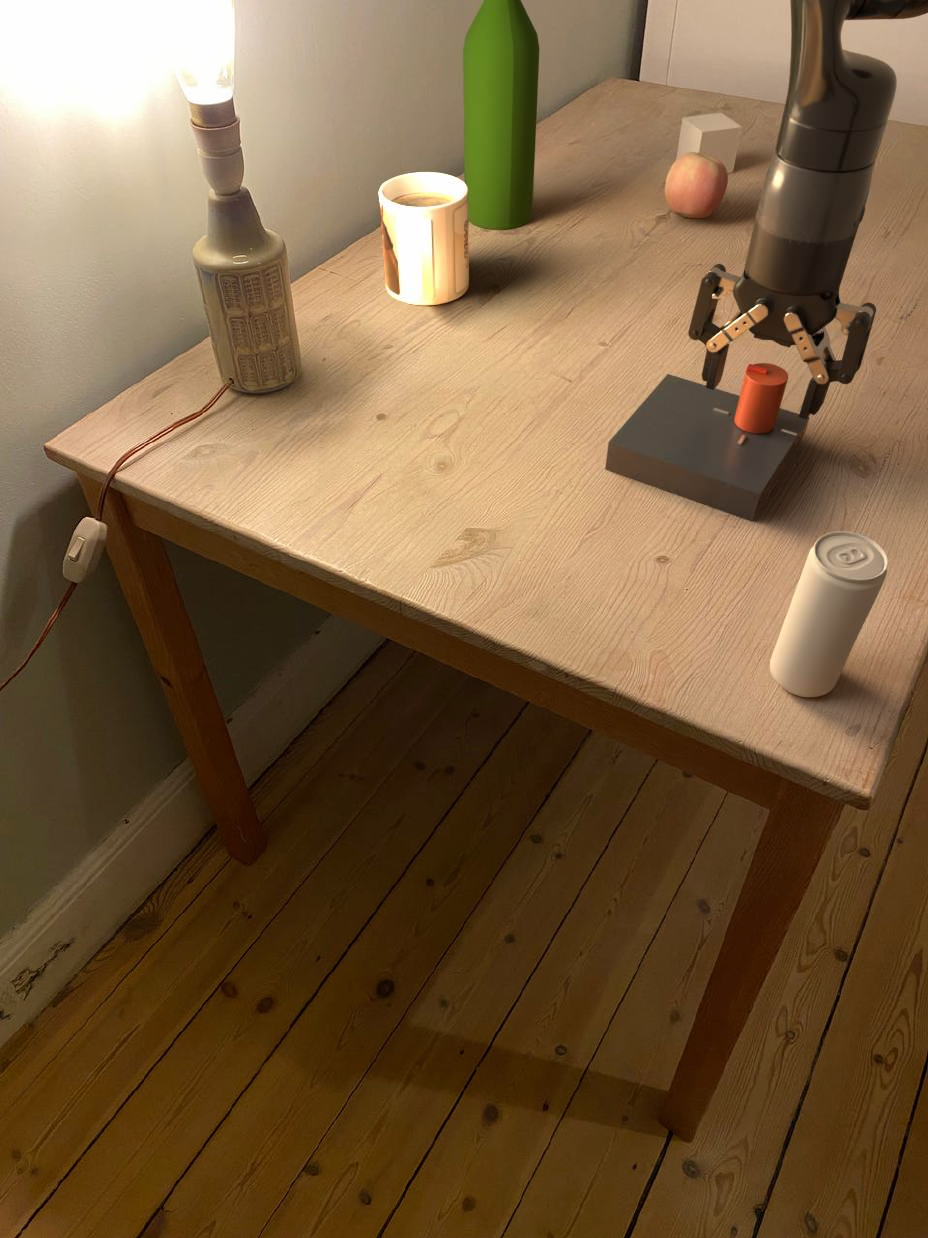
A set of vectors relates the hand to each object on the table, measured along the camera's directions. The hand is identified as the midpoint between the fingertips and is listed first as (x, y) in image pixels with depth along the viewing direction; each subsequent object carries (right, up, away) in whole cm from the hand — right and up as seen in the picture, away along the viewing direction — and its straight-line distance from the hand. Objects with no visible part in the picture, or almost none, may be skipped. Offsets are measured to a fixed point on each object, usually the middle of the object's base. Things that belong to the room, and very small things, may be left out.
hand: (758, 399), depth 81 cm
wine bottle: (-22, +34, +40) cm, 56 cm away
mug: (-31, +19, +26) cm, 44 cm away
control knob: (0, -2, +2) cm, 2 cm away
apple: (+3, +33, +38) cm, 50 cm away
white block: (+8, +45, +50) cm, 68 cm away
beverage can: (-2, -24, -14) cm, 28 cm away
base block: (-4, -4, +3) cm, 7 cm away
